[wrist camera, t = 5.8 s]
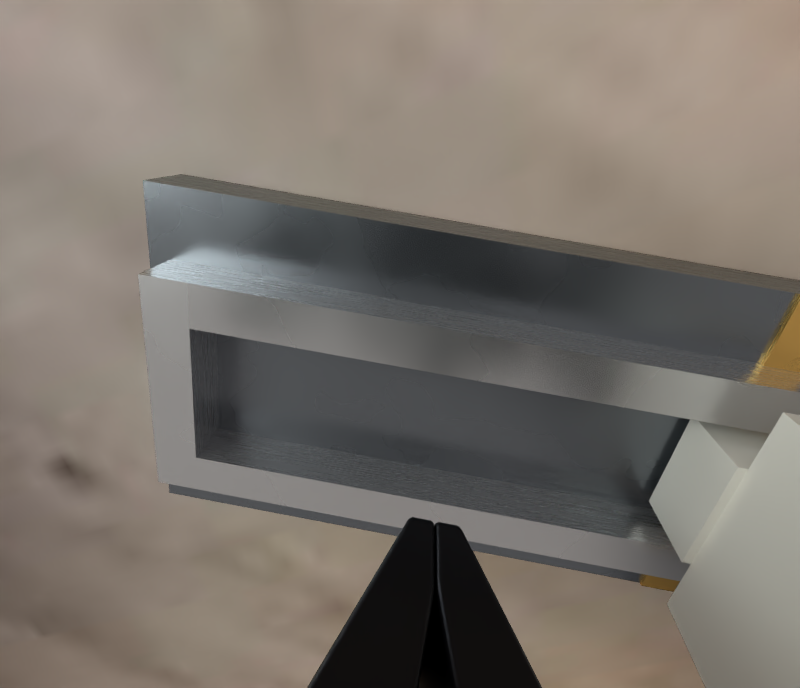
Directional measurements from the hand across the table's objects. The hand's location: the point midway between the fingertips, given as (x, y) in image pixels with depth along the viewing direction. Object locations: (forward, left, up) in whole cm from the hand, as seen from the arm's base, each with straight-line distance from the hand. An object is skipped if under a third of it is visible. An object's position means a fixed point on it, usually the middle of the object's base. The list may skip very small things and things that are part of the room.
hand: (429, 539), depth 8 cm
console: (-3, 0, -6) cm, 6 cm away
